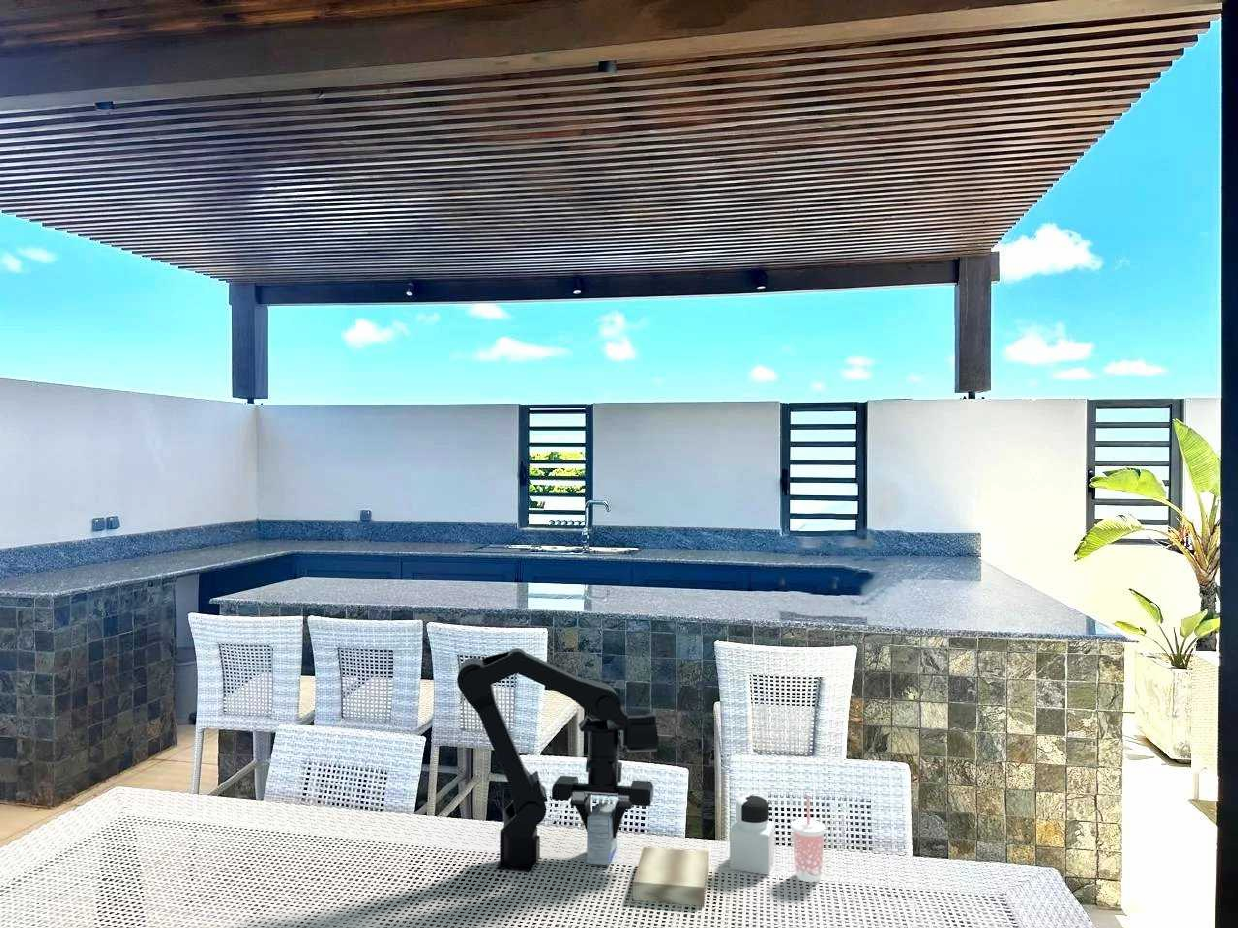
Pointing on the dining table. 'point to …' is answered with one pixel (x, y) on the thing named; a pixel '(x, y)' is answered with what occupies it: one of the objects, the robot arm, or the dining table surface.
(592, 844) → the medicine box
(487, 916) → the dining table surface
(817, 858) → the beverage cup
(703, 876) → the wood pedestal
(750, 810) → the medicine bottle
